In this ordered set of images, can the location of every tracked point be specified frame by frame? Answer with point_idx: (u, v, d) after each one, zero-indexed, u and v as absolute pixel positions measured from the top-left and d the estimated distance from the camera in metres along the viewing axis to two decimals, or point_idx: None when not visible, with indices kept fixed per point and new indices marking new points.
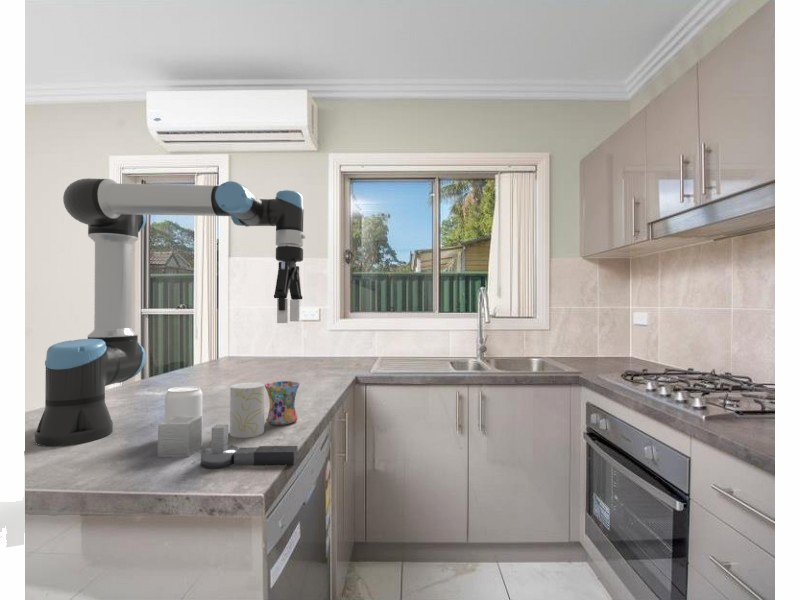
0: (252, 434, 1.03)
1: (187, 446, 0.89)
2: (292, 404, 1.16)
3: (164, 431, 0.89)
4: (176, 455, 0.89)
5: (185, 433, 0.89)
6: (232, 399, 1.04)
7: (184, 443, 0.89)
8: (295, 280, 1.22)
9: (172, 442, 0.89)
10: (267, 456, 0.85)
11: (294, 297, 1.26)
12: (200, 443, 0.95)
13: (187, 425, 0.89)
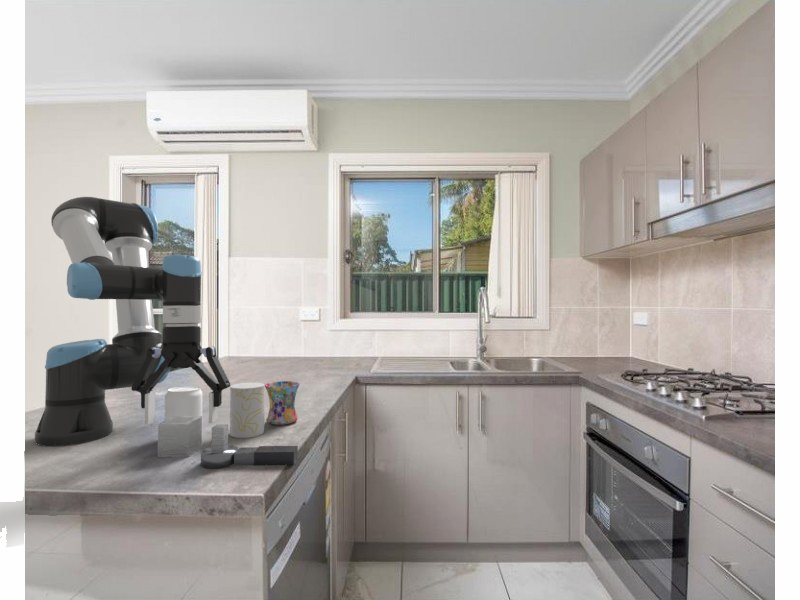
0: (252, 434, 1.03)
1: (187, 446, 0.89)
2: (292, 404, 1.16)
3: (164, 431, 0.89)
4: (176, 455, 0.89)
5: (185, 433, 0.89)
6: (232, 399, 1.04)
7: (184, 443, 0.89)
8: None
9: (172, 442, 0.89)
10: (267, 456, 0.85)
11: None
12: (200, 443, 0.95)
13: (187, 425, 0.89)
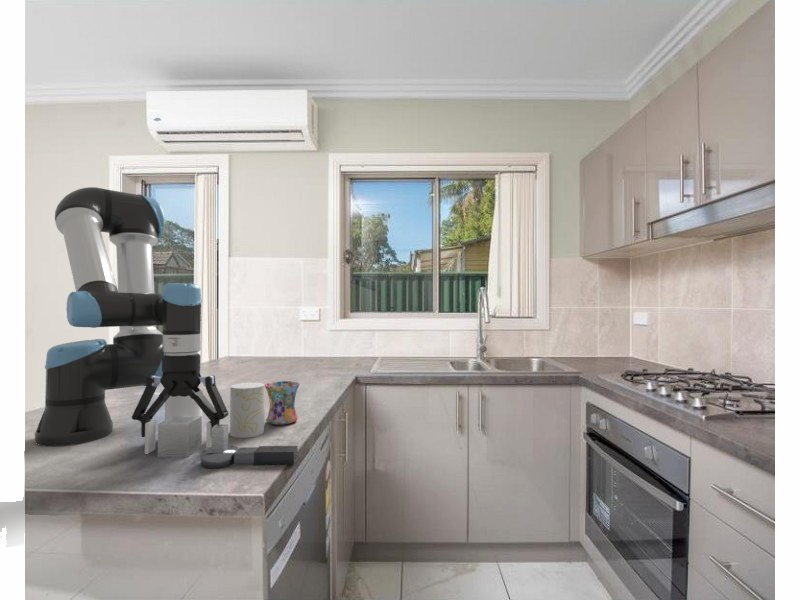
0: (252, 434, 1.03)
1: (187, 446, 0.89)
2: (292, 404, 1.16)
3: (164, 431, 0.89)
4: (176, 455, 0.89)
5: (185, 433, 0.89)
6: (232, 399, 1.04)
7: (184, 443, 0.89)
8: None
9: (172, 442, 0.89)
10: (267, 456, 0.85)
11: None
12: (200, 443, 0.95)
13: (187, 425, 0.89)
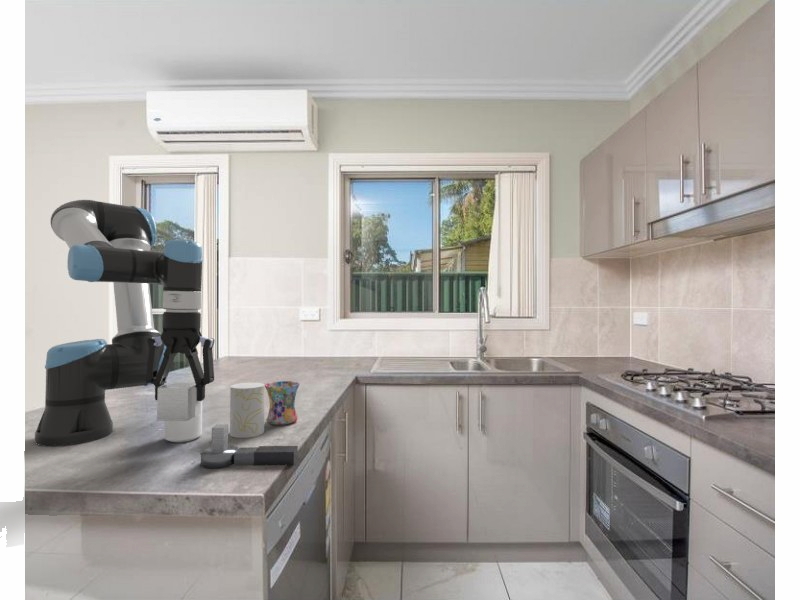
0: (252, 434, 1.03)
1: (186, 410, 0.90)
2: (292, 404, 1.16)
3: (164, 394, 0.90)
4: (175, 418, 0.90)
5: (184, 397, 0.90)
6: (232, 399, 1.04)
7: (183, 407, 0.90)
8: None
9: (171, 406, 0.90)
10: (267, 456, 0.85)
11: None
12: None
13: (186, 389, 0.90)
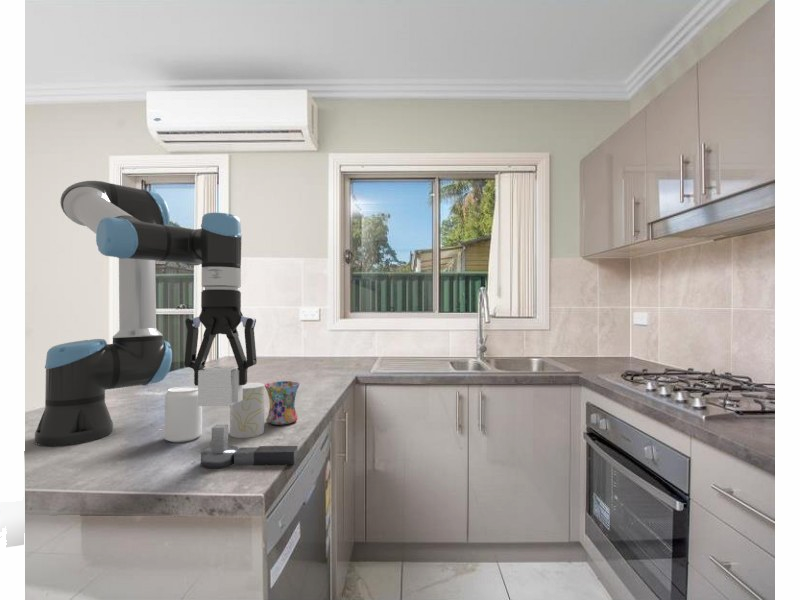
0: (252, 434, 1.03)
1: (229, 394, 0.83)
2: (292, 404, 1.16)
3: (205, 377, 0.83)
4: (217, 403, 0.83)
5: (227, 380, 0.83)
6: None
7: (226, 391, 0.83)
8: None
9: (213, 390, 0.83)
10: (267, 456, 0.85)
11: None
12: None
13: (229, 371, 0.83)
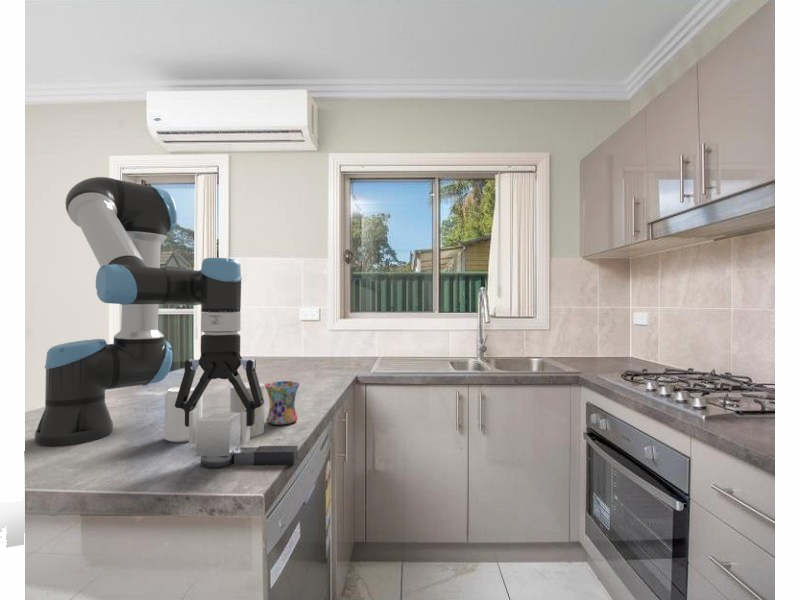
0: (252, 434, 1.03)
1: (228, 444, 0.83)
2: (292, 404, 1.16)
3: (203, 428, 0.83)
4: (216, 453, 0.83)
5: (226, 430, 0.83)
6: (232, 399, 1.04)
7: (224, 441, 0.83)
8: None
9: (212, 440, 0.83)
10: (267, 455, 0.85)
11: None
12: (239, 441, 0.89)
13: (228, 421, 0.83)
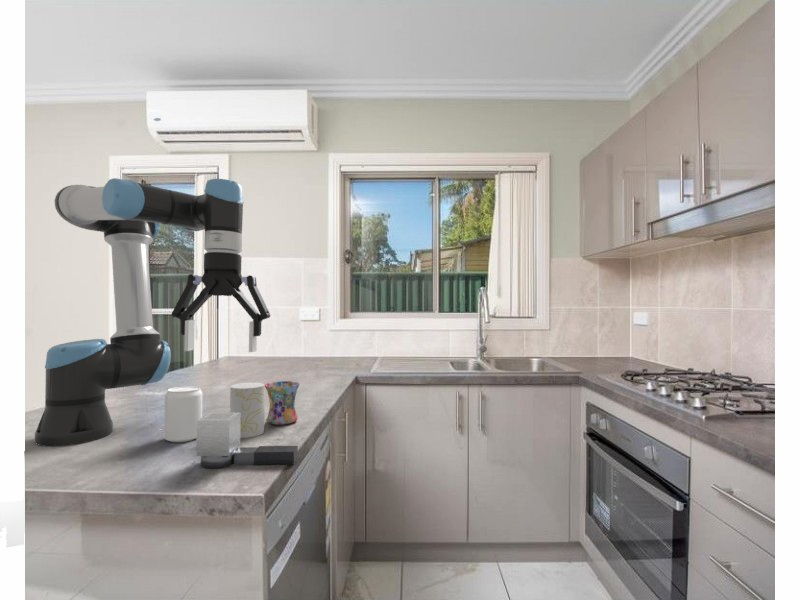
0: (252, 434, 1.03)
1: (228, 444, 0.83)
2: (292, 404, 1.16)
3: (203, 427, 0.83)
4: (215, 453, 0.83)
5: (225, 430, 0.83)
6: (232, 399, 1.04)
7: (224, 441, 0.83)
8: None
9: (212, 440, 0.83)
10: (267, 456, 0.85)
11: None
12: (239, 441, 0.89)
13: (228, 421, 0.83)
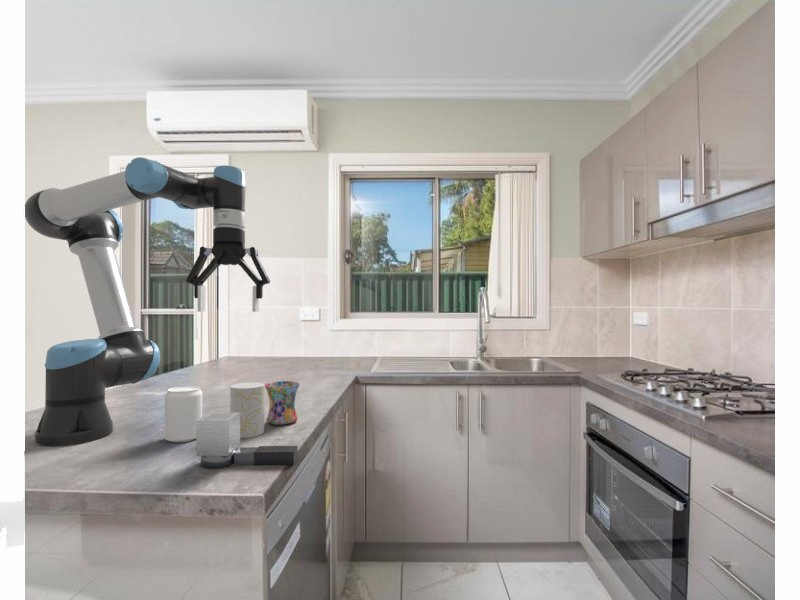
0: (252, 434, 1.03)
1: (227, 444, 0.83)
2: (292, 404, 1.16)
3: (203, 428, 0.83)
4: (215, 453, 0.83)
5: (225, 430, 0.83)
6: (232, 399, 1.04)
7: (224, 441, 0.83)
8: None
9: (211, 440, 0.83)
10: (267, 456, 0.85)
11: None
12: (239, 441, 0.89)
13: (227, 421, 0.83)
